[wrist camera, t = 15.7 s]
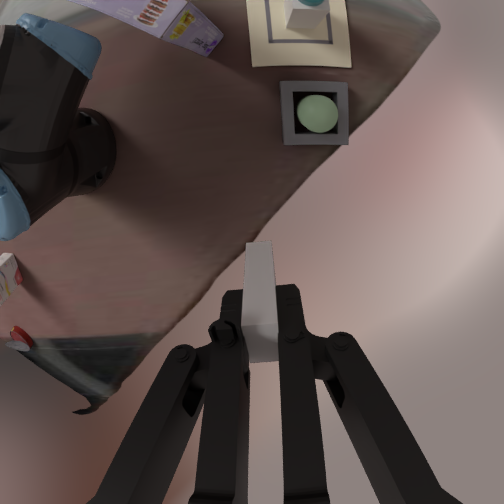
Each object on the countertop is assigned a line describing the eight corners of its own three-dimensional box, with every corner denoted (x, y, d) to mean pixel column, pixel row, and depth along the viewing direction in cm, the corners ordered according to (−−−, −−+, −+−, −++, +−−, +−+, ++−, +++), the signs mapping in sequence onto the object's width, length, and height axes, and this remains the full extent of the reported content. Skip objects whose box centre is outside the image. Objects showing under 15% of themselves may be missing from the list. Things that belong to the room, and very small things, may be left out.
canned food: (28, 319, 73) (22, 337, 65) (38, 340, 77) (35, 358, 69) (5, 323, 68) (-1, 340, 60) (16, 344, 73) (12, 361, 64)
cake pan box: (111, 14, 26) (41, -7, 12) (129, -11, 24) (66, -43, 9) (204, 61, 32) (163, 41, 17) (226, 35, 30) (200, -3, 15)
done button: (296, 128, 37) (300, 132, 33) (294, 94, 34) (298, 94, 30) (330, 128, 36) (338, 133, 32) (329, 95, 34) (337, 95, 30)
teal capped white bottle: (285, 28, 29) (295, 1, 18) (283, 5, 27) (291, -28, 16) (314, 28, 28) (335, 4, 18) (311, 5, 26) (331, -26, 16)
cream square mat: (252, 67, 33) (252, 66, 32) (243, -25, 24) (243, -26, 24) (350, 67, 32) (351, 67, 31) (340, -22, 23) (341, -23, 23)
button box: (282, 141, 38) (284, 145, 36) (279, 82, 34) (280, 81, 31) (342, 141, 38) (348, 145, 35) (341, 83, 33) (347, 82, 30)
